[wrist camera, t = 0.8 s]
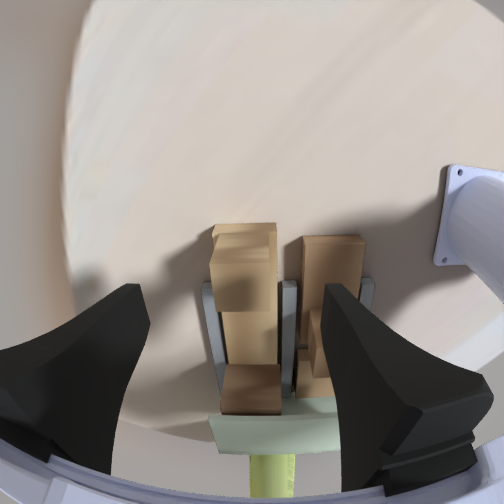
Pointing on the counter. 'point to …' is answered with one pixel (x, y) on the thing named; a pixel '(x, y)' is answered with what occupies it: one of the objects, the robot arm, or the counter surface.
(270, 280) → the tan stepped wooden piece
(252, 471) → the tube
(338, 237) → the block brown
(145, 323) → the robot arm
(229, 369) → the cube
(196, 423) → the counter surface
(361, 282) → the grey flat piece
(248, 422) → the shelter
